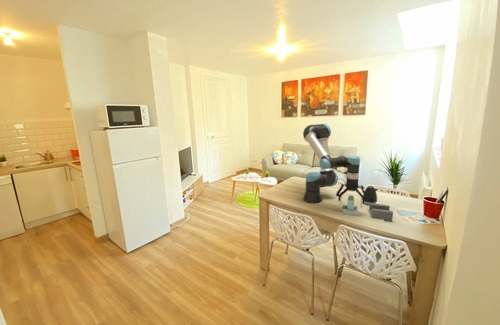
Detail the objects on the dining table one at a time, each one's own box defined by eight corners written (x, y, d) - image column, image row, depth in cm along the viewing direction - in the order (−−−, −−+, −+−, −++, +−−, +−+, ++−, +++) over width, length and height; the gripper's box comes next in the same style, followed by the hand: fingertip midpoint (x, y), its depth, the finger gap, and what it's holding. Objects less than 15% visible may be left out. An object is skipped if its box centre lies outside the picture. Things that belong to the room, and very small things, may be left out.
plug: (347, 212, 149) (348, 197, 146) (346, 209, 154) (347, 194, 151) (353, 213, 148) (354, 198, 145) (352, 210, 152) (354, 195, 149)
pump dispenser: (371, 208, 156) (373, 189, 153) (359, 203, 165) (360, 185, 162) (379, 205, 161) (381, 186, 157) (367, 200, 170) (368, 183, 166)
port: (371, 218, 141) (372, 209, 140) (368, 211, 152) (369, 202, 151) (392, 221, 137) (393, 211, 135) (387, 213, 148) (388, 204, 146)
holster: (342, 215, 148) (343, 210, 147) (342, 209, 157) (342, 204, 156) (358, 217, 144) (358, 212, 143) (356, 210, 153) (357, 205, 152)
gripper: (333, 178, 146) (332, 206, 151) (373, 181, 137) (371, 210, 141) (333, 175, 153) (332, 202, 157) (372, 177, 143) (369, 206, 148)
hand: (350, 206), depth 149 cm, fingers open, 13 cm apart
